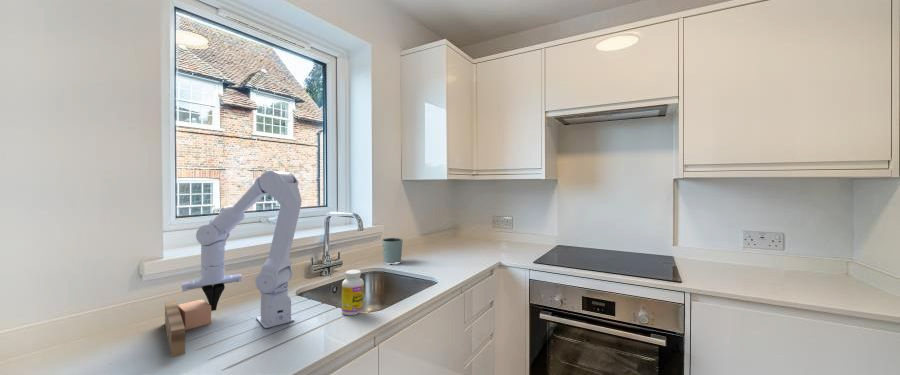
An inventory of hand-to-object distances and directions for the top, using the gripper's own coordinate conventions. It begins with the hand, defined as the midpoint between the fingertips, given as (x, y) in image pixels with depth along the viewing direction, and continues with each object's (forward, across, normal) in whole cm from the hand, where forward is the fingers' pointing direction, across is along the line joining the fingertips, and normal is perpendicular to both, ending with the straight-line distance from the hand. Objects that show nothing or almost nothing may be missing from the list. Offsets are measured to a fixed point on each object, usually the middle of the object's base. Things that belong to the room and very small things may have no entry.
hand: (213, 309), depth 99 cm
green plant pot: (+3, -77, -21) cm, 80 cm away
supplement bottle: (+3, -33, +23) cm, 41 cm away
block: (+2, +4, 0) cm, 5 cm away
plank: (+2, +10, +8) cm, 13 cm away
